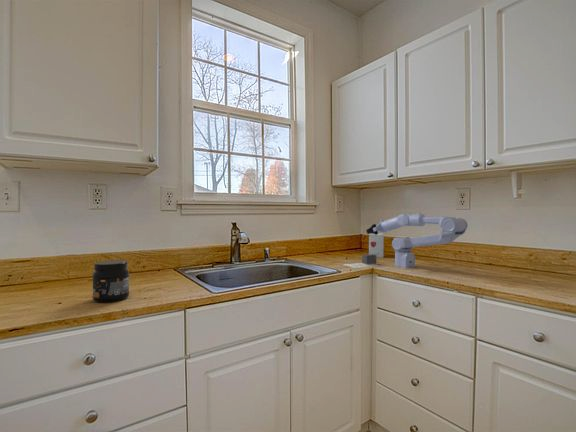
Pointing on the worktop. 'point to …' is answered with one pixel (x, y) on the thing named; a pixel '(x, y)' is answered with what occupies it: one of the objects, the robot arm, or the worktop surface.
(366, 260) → the block
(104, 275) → the supplement container
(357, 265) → the board
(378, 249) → the supplement box
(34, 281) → the worktop surface
